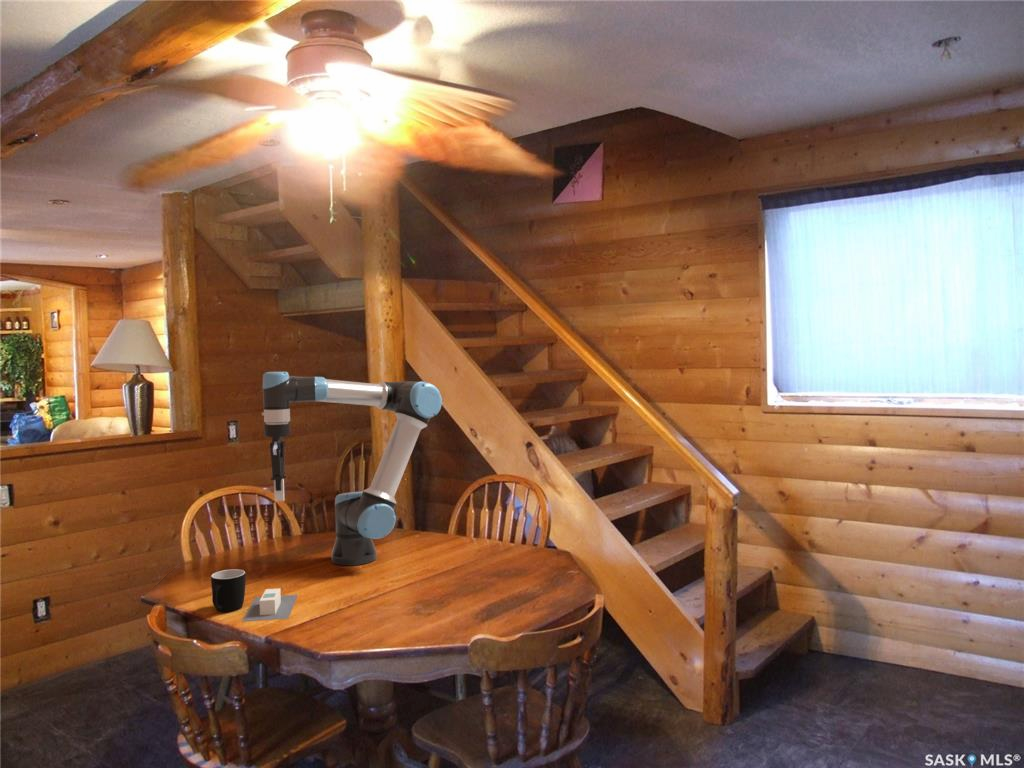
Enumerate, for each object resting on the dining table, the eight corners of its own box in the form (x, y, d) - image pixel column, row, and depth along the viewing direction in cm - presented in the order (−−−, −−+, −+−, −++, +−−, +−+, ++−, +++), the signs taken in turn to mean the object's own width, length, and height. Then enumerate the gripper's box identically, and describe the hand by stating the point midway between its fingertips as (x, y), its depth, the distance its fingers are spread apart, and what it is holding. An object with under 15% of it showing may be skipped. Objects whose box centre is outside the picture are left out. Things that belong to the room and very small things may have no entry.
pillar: (280, 588, 220) (274, 599, 210) (280, 602, 221) (275, 614, 211) (265, 588, 220) (259, 600, 210) (266, 603, 220) (260, 615, 210)
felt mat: (298, 595, 227) (298, 594, 227) (288, 620, 207) (288, 618, 207) (255, 598, 225) (255, 597, 225) (241, 622, 206) (241, 621, 206)
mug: (223, 603, 221) (222, 568, 221) (252, 605, 220) (251, 569, 219) (199, 618, 210) (197, 581, 209) (229, 620, 208) (228, 582, 207)
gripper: (267, 421, 239) (270, 497, 241) (260, 425, 226) (262, 505, 228) (292, 420, 240) (295, 496, 242) (286, 424, 228) (289, 504, 229)
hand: (279, 500), depth 235 cm, fingers closed
